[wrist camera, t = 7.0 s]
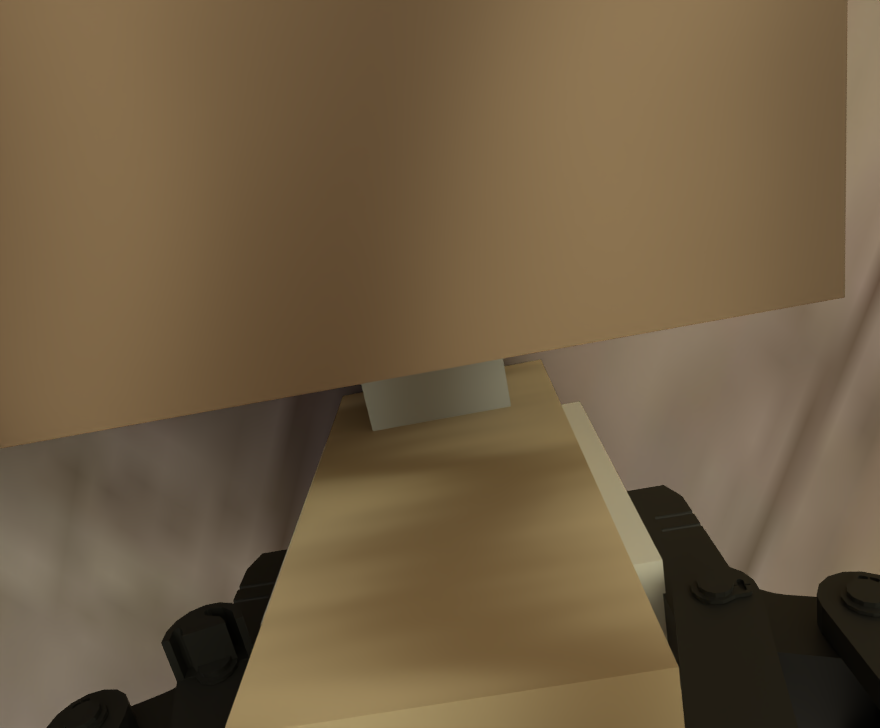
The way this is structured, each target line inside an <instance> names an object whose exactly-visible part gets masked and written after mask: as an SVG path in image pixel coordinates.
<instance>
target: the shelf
mask: <svg viewBox="0 0 880 728" xmlns="http://www.w3.org/2000/svg"><path fill="white" fill-rule="evenodd" d="M846 100H847V0H0V448H6V447H12V446H17V445H23V444H28V443H34V442H39V441H45V440H51V439H56V438H62V437H67V436H73V435H79V434H84V433H90V432H95V431H101V430H107V429H112V428H118V427H123V426H129V425H134V424H140V423H146V422H151V421H157V420H162V419H168V418H174V417H179V416H185V415H190V414H196V413H201V412H207V411H213V410H218V409H224V408H229V407H235V406H241V405H246V404H252V403H257V402H263V401H269V400H274V399H280V398H285V397H291V396H296V395H302V394H308V393H313V392H319V391H324V390H330V389H336V388H341V387H347V386H352V385H358V384H364V383H369V382H375V381H380V380H386V379H391V378H397V377H403V376H408V375H414V374H419V373H425V372H431V371H436V370H442V369H447V368H453V367H458V366H464V365H470V364H475V363H481V362H486V361H492V360H498V359H503V358H509V357H514V356H520V355H526V354H531V353H537V352H542V351H548V350H553V349H559V348H565V347H570V346H576V345H581V344H587V343H593V342H598V341H604V340H609V339H615V338H621V337H626V336H632V335H637V334H643V333H648V332H654V331H660V330H665V329H671V328H676V327H682V326H688V325H693V324H699V323H704V322H710V321H715V320H721V319H727V318H732V317H738V316H743V315H749V314H755V313H760V312H766V311H771V310H777V309H783V308H788V307H794V306H799V305H805V304H810V303H816V302H822V301H827V300H833V299H838V298H844V297H845V207H846Z"/></svg>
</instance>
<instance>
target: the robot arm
mask: <svg viewBox="0 0 880 728" xmlns="http://www.w3.org/2000/svg"><path fill="white" fill-rule="evenodd" d="M561 406H562V408H563V410H564V412H565V414H566V417H567V419H568V421H569V423H570V426H571V428H572V430H573V432H574V435H575V437H576V439H577V441H578V443H579V446H580V448H581V450H582V452H583V455H584V457H585V459H586V461H587V464H588V466H589V468H590V470H591V472H592V475H593V477H594V479H595V481H596V484H597V486H598V488H599V490H600V493H601V495H602V497H603V499H604V501H605V504H606V506H607V508H608V510H609V513H610V515H611V517H612V519H613V522H614V524H615V526H616V528H617V530H618V533H619V535H620V537H621V539H622V542H623V544H624V546H625V548H626V551H627V553H628V555H629V557H630V560H631V562H632V564H633V566H634V568H635V571H636V573H637V575H638V577H639V580H640V582H641V584H642V586H643V589H644V591H645V593H646V595H647V597H648V600H649V602H650V604H651V606H652V609H653V611H654V613H655V615H656V618H657V620H658V622H659V624H660V626H661V629H662V631H663V633H664V635H665V638H666V640H667V642H668V644H669V647H670V649H671V651H672V653H673V655H674V658H675V660H676V662H677V664H678V667H679V675H680V685H681V690H682V700H683V711H684V722H685V728H880V575H877V574H871V573H866V572H841V573H838V574H835V575H831V576H828V577H827V578H826V579H825V580H823V581H822V582H821V583H820V584H819V587H818V592H817V597H809V596H794V595H783V594H776V593H771V592H767V591H764V590H760V589H759V588H758V586H757V584H756V583H755V581H754V580H753V579H752V578H750V577H749V576H747V575H746V574H745V573H743V572H742V571H739V570H736V569H733V568H731V567H729V566H728V564H727V563H726V561H725V560H724V558H723V557H722V555H721V554H720V552H719V551H718V549H717V548H716V546H715V545H714V543H713V542H712V540H711V539H710V537H709V536H708V534H707V533H706V531H705V530H704V528H703V527H702V526H701V525H700V522H699V521H698V519H697V518H696V516H695V515H694V514H693V513H692V510H691V509H690V507H689V506H688V504H687V503H686V501H685V500H684V498H683V497H682V496H681V495H679V494H678V493H676V492H674V491H673V490H671V489H669V488H668V487H666V486H664V485H662V486H656V487H650V488H643V489H637V490H631V491H626V489H625V487H624V485H623V483H622V482H621V480H620V478H619V476H618V474H617V472H616V470H615V468H614V466H613V464H612V462H611V460H610V459H609V457H608V455H607V453H606V451H605V449H604V447H603V445H602V443H601V441H600V439H599V437H598V435H597V434H596V432H595V430H594V428H593V426H592V424H591V422H590V420H589V418H588V416H587V414H586V412H585V411H584V409H583V407H582V405H581V403H580V401H579V402H574V403H568V404H562V405H561ZM324 448H325V447H324ZM323 451H324V450H323ZM322 454H323V453H322ZM321 457H322V455H321ZM320 459H321V458H320ZM319 462H320V461H319ZM318 465H319V464H318ZM317 468H318V466H317ZM316 471H317V469H316ZM315 473H316V472H315ZM314 476H315V475H314ZM313 479H314V477H313ZM312 482H313V480H312ZM311 485H312V483H311ZM310 487H311V486H310ZM309 490H310V489H309ZM308 493H309V491H308ZM307 496H308V494H307ZM306 499H307V497H306ZM305 501H306V500H305ZM304 504H305V502H304ZM303 507H304V505H303ZM302 510H303V508H302ZM301 513H302V511H301ZM300 516H301V514H300ZM300 516H299V518H300ZM298 521H299V519H298ZM297 524H298V522H297ZM296 527H297V525H296ZM296 527H295V530H296ZM295 530H294V532H295ZM293 535H294V533H293ZM292 538H293V536H292ZM292 538H291V541H292ZM291 541H290V544H291ZM290 544H289V546H290ZM288 549H289V547H288ZM288 549H287V550H281V551H275V552H269V553H263V554H262V555H261V556H260V557H259V558H258V559H257V560H256V561H255V562H254V563H253V564H252V565H251V566H250V567H249V568H248V569H247V571H246V573H245V575H244V577H243V580H242V582H241V584H240V590H238V591H237V593H236V596H235V598H234V600H233V601H234V604H232V603H222V602H219V603H214V604H209V605H205V606H202V607H200V608H198V609H195V610H193V611H191V612H189V613H188V614H186V615H185V616H183V617H182V618H180V619H179V620H177V621H176V622H175V623H174V624H173V625H172V626H171V627H170V629H169V630H168V631H167V632H166V634H165V636H164V638H163V640H162V642H161V643H162V646H163V648H164V651H165V653H166V656H167V658H168V661H169V663H170V666H171V668H172V671H173V673H174V675H175V678H176V680H177V686H176V688H174V689H172V690H170V691H168V692H166V693H164V694H161V695H159V696H156V697H154V698H151V699H149V700H146V701H144V702H141V703H139V704H136V705H133V706H131V705H130V703H129V701H128V698H127V696H126V694H124V693H123V692H121V691H119V690H101V691H98V692H94V693H91V694H88V695H86V696H84V697H82V698H81V699H78V700H77V701H75V702H73V703H71V704H70V705H69V706H68V707H66V708H65V709H64V710H63V711H61V712H60V713H59V714H58V715H57V716H56V717H55V718H54V719H53V720H52V722H51V723H50V724H49V725H48V726H47V728H225V726H226V723H227V720H228V718H229V715H230V712H231V709H232V706H233V704H234V701H235V698H236V695H237V692H238V690H239V687H240V684H241V681H242V678H243V676H244V673H245V670H246V667H247V664H248V662H249V659H250V656H251V653H252V650H253V647H254V645H255V642H256V639H257V636H258V633H259V631H260V628H261V625H262V622H263V619H264V617H265V614H266V611H267V608H268V605H269V603H270V600H271V597H272V594H273V591H274V589H275V586H276V583H277V580H278V577H279V574H280V572H281V569H282V566H283V563H284V560H285V558H286V555H287V552H288Z"/></svg>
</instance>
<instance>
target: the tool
mask: <svg viewBox="0 0 880 728" xmlns="http://www.w3.org/2000/svg"><path fill="white" fill-rule="evenodd" d="M361 386H362V390H363V392H362V393H356V394H351V395H346V396H343V398H342V400H341V403H340V406H339V409H338V412H337V414H336V417H335V420H334V423H333V426H332V429H331V431H330V434H329V437H328V440H327V443H326V445H325V448H324V451H323V454H322V457H321V459H320V462H319V465H318V468H317V471H316V473H315V476H314V479H313V482H312V485H311V487H310V490H309V493H308V496H307V499H306V501H305V504H304V507H303V510H302V513H301V516H300V518H299V521H298V524H297V527H296V530H295V532H294V535H293V538H292V541H291V544H290V546H289V549H288V552H287V555H286V558H285V560H284V563H283V566H282V569H281V572H280V574H279V577H278V580H277V583H276V586H275V589H274V591H273V594H272V597H271V600H270V603H269V605H268V608H267V611H266V614H265V617H264V619H263V622H262V625H261V628H260V631H259V633H258V636H257V639H256V642H255V645H254V647H253V650H252V653H251V656H250V659H249V662H248V664H247V667H246V670H245V673H244V676H243V678H242V681H241V684H240V687H239V690H238V692H237V695H236V698H235V701H234V704H233V706H232V709H231V712H230V715H229V718H228V720H227V723H226V726H225V728H685V726H684V716H683V706H682V696H681V685H680V675H679V667H678V664H677V662H676V660H675V658H674V655H673V653H672V651H671V649H670V647H669V644H668V642H667V640H666V638H665V635H664V633H663V631H662V629H661V626H660V624H659V622H658V620H657V618H656V615H655V613H654V611H653V609H652V606H651V604H650V602H649V600H648V597H647V595H646V593H645V591H644V589H643V586H642V584H641V582H640V580H639V577H638V575H637V573H636V571H635V568H634V566H633V564H632V562H631V560H630V557H629V555H628V553H627V551H626V548H625V546H624V544H623V542H622V539H621V537H620V535H619V533H618V530H617V528H616V526H615V524H614V522H613V519H612V517H611V515H610V513H609V510H608V508H607V506H606V504H605V501H604V499H603V497H602V495H601V493H600V490H599V488H598V486H597V484H596V481H595V479H594V477H593V475H592V472H591V470H590V468H589V466H588V464H587V461H586V459H585V457H584V455H583V452H582V450H581V448H580V446H579V443H578V441H577V439H576V437H575V435H574V432H573V430H572V428H571V426H570V423H569V421H568V419H567V417H566V414H565V412H564V410H563V408H562V406H561V403H560V401H559V399H558V397H557V394H556V392H555V390H554V388H553V385H552V383H551V381H550V379H549V377H548V374H547V372H546V370H545V368H544V365H543V363H542V361H541V360H535V361H530V362H525V363H519V364H514V365H508V366H504V362H503V359H498V360H492V361H486V362H481V363H475V364H470V365H464V366H458V367H453V368H447V369H442V370H436V371H431V372H425V373H419V374H414V375H408V376H403V377H397V378H391V379H386V380H380V381H375V382H369V383H364V384H361Z"/></svg>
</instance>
